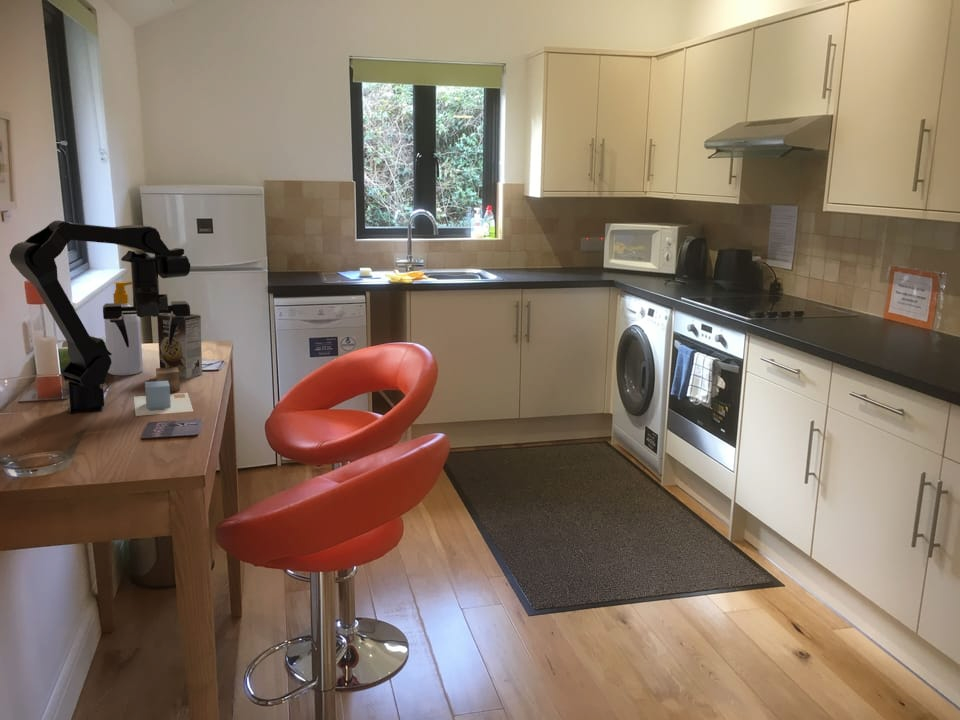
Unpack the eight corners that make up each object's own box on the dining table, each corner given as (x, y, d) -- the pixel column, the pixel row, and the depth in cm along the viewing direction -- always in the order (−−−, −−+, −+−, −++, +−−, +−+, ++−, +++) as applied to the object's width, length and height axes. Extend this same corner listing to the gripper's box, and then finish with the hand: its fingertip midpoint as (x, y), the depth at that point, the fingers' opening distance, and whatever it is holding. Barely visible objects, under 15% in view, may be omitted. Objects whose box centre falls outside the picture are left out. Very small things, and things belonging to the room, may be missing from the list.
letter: (135, 416, 179) (135, 415, 179) (133, 397, 194) (133, 396, 194) (193, 411, 184) (193, 411, 184) (187, 393, 198) (187, 392, 198)
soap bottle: (149, 373, 216) (144, 283, 210) (111, 377, 210) (105, 285, 205) (142, 366, 222) (136, 279, 217) (104, 370, 217) (98, 280, 212)
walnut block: (157, 393, 198) (156, 373, 197) (157, 388, 203) (155, 368, 201) (179, 391, 200) (178, 371, 199) (178, 386, 204) (177, 367, 203)
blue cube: (147, 409, 184) (145, 387, 183) (146, 403, 189) (144, 382, 188) (170, 407, 186) (169, 385, 185) (169, 401, 191) (168, 380, 190)
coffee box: (158, 375, 214) (155, 314, 210) (176, 370, 220) (173, 310, 216) (186, 379, 211) (183, 318, 207) (203, 374, 217) (201, 314, 213)
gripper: (100, 286, 179) (105, 355, 183) (190, 284, 186) (193, 351, 190) (101, 279, 189) (105, 345, 192) (186, 277, 196) (189, 341, 200)
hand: (149, 345), depth 193 cm, fingers open, 9 cm apart
